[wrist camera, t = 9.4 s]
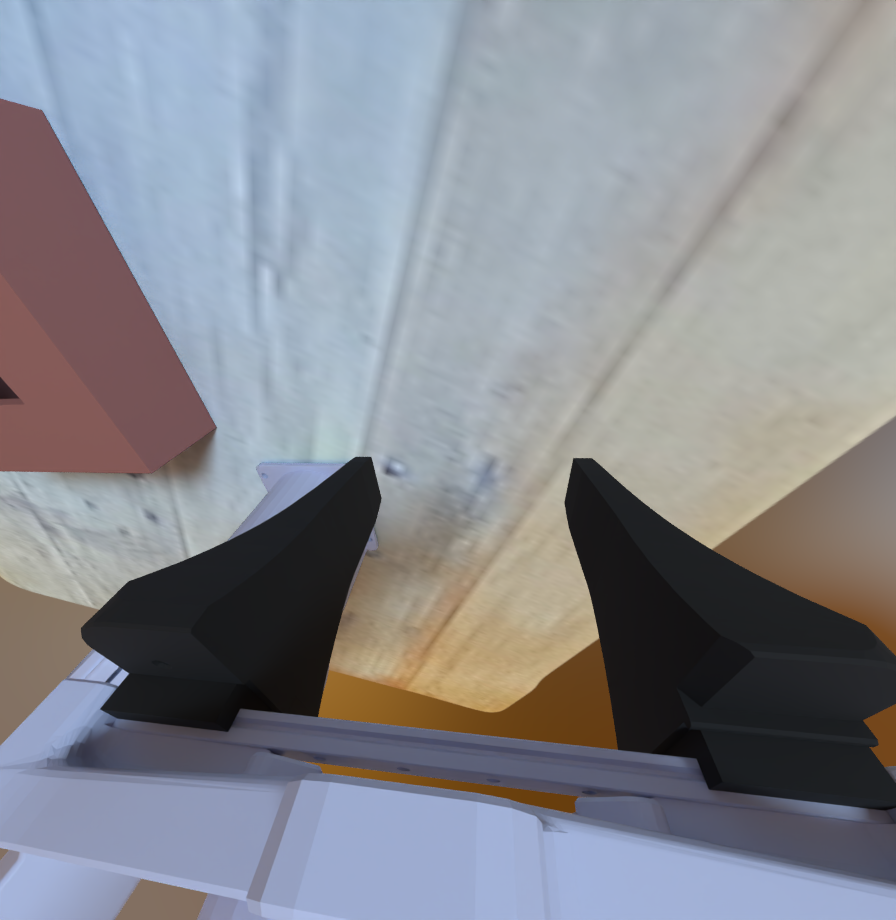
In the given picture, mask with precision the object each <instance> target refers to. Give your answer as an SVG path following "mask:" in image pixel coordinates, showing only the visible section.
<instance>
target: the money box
mask: <svg viewBox="0 0 896 920" xmlns="http://www.w3.org/2000/svg"><path fill="white" fill-rule="evenodd" d="M215 428H216V426H215V424H214V422H213V420H212V418H211V417H210V415H209V413H208V411H207V409H206V408H205V406H204V404H203V402H202V400H201V398H200V397H199V395H198V393H197V391H196V389H195V388H194V386H193V384H192V382H191V380H190V378H189V377H188V375H187V373H186V371H185V369H184V368H183V366H182V364H181V362H180V360H179V358H178V357H177V355H176V353H175V351H174V349H173V348H172V346H171V344H170V342H169V340H168V338H167V337H166V335H165V333H164V331H163V329H162V328H161V326H160V324H159V322H158V320H157V318H156V317H155V315H154V313H153V311H152V309H151V308H150V306H149V304H148V302H147V300H146V298H145V297H144V295H143V293H142V291H141V289H140V288H139V286H138V284H137V282H136V280H135V278H134V277H133V275H132V273H131V271H130V269H129V268H128V266H127V264H126V262H125V260H124V258H123V257H122V255H121V253H120V251H119V249H118V248H117V246H116V244H115V242H114V240H113V238H112V237H111V235H110V233H109V231H108V229H107V228H106V226H105V224H104V222H103V220H102V219H101V217H100V215H99V213H98V211H97V209H96V208H95V206H94V204H93V202H92V200H91V199H90V197H89V195H88V193H87V191H86V189H85V188H84V186H83V184H82V182H81V180H80V179H79V177H78V175H77V173H76V171H75V169H74V168H73V166H72V164H71V162H70V160H69V159H68V157H67V155H66V153H65V151H64V149H63V148H62V146H61V144H60V142H59V140H58V139H57V137H56V135H55V133H54V131H53V129H52V128H51V126H50V124H49V122H48V120H47V119H46V117H45V115H44V113H43V111H42V110H39V109H35V108H32V107H28V106H25V105H21V104H18V103H14V102H10V101H7V100H3V99H0V471H22V472H94V473H153V472H154V471H156V470H157V469H159V468H160V467H161V466H163V465H164V464H166V463H167V462H168V461H170V460H171V459H173V458H174V457H175V456H177V455H178V454H180V453H181V452H183V451H184V450H185V449H187V448H188V447H190V446H191V445H192V444H194V443H195V442H197V441H198V440H199V439H201V438H202V437H204V436H205V435H206V434H208V433H209V432H211V431H212V430H214V429H215Z"/></svg>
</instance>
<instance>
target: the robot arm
mask: <svg viewBox="0 0 896 920" xmlns="http://www.w3.org/2000/svg"><path fill="white" fill-rule="evenodd" d="M256 470H257V472H258V474H259V476H260V478H261V480H262V482H263V484H264V486H265V488H266V489H267V491H268V494H267V495H266V496H265V497H264V498H263V499H262V501H261V502H260V503H259V504H258V505H257V506H256V508H255V509H254V510H253V511H252V512H251V514H250V515H249V516H248V517H247V518H246V519H245V521H244V522H243V523H242V524H241V525H240V526H239V528H238V529H237V530H236V531H235V532H234V533H233V535H232V536H231V537H230V538H229V539H228V541H227V542H225V543H223V544H220V545H218V546H216V547H214V548H212V549H210V550H207V551H205V552H203V553H201V554H198V555H196V556H194V557H191V558H189V559H187V560H184V561H182V562H179V563H177V564H174V565H172V566H169V567H166V568H164V569H161V570H158V571H156V572H153V573H150V574H148V575H145V576H142V577H140V578H137V579H134V580H131V581H129V582H128V583H126V584H125V585H124V586H123V587H122V588H121V589H120V590H119V591H118V592H117V593H116V594H115V595H114V596H113V597H112V598H111V599H110V600H109V601H108V602H107V603H106V604H105V605H104V606H103V607H102V608H101V609H100V610H99V611H98V612H97V613H96V614H95V615H94V616H93V617H92V618H91V619H90V620H89V621H88V622H86V623H85V624H84V626H83V627H82V628H81V634H82V638H83V640H84V641H85V642H86V644H87V645H89V646H90V647H91V648H92V649H93V650H92V651H91V652H90V653H89V654H88V655H87V656H86V657H85V658H84V659H83V660H82V662H80V663H79V665H78V666H77V667H76V668H75V669H74V670H73V671H72V672H71V673H70V674H69V675H68V676H67V678H66V679H65V680H63V681H62V682H61V683H60V684H59V685H58V686H57V687H56V688H55V689H54V690H53V691H52V692H51V693H50V694H49V695H48V697H47V698H46V699H45V700H44V701H43V702H42V703H41V704H40V705H39V706H38V707H37V708H36V709H35V710H34V711H33V712H32V713H31V714H30V715H29V716H28V717H27V719H26V720H25V721H24V722H23V723H22V724H21V725H20V726H19V727H18V728H17V729H16V730H15V731H14V732H13V733H12V734H11V735H10V736H9V737H8V738H7V739H6V741H5V742H4V743H3V744H2V745H1V746H0V848H4V849H9V851H8V852H7V853H6V854H5V856H4V857H3V858H2V859H1V860H0V920H115V918H116V917H117V915H118V914H119V912H120V911H121V909H122V907H123V906H124V905H125V903H126V901H127V900H128V898H129V897H130V895H131V894H132V892H133V891H134V889H135V888H136V886H137V884H138V883H139V882H140V880H141V878H142V879H146V880H151V881H156V882H160V883H165V884H169V885H174V886H179V887H183V888H188V889H192V890H197V891H202V892H206V893H208V895H207V897H206V900H205V902H204V904H203V907H202V909H201V911H200V914H199V917H198V919H197V920H896V766H891V767H885V768H884V766H883V765H882V764H881V762H880V761H879V760H878V758H877V757H876V756H875V754H874V753H873V752H872V750H871V749H870V748H869V747H875V746H878V740H877V738H876V737H875V736H874V735H873V733H872V732H871V730H870V729H869V728H868V727H867V725H866V724H865V723H864V722H863V720H864V719H866V718H868V717H870V716H872V715H874V714H876V713H878V712H880V711H882V710H884V709H886V708H888V707H890V706H892V705H894V704H896V656H895V655H894V654H893V653H892V652H891V651H890V650H889V649H888V648H887V647H886V646H885V644H884V643H882V641H881V640H880V639H879V638H878V637H877V636H876V635H875V634H874V633H873V632H872V631H871V630H870V629H869V628H868V627H867V626H866V625H864V624H862V623H860V622H857V621H855V620H853V619H851V618H848V617H846V616H844V615H842V614H839V613H837V612H835V611H832V610H830V609H828V608H826V607H823V606H821V605H819V604H817V603H814V602H812V601H810V600H808V599H805V598H803V597H801V596H799V595H797V594H794V593H792V592H790V591H788V590H786V589H784V588H782V587H780V586H778V585H776V584H774V583H772V582H770V581H768V580H766V579H764V578H762V577H760V576H758V575H756V574H754V573H752V572H751V571H749V570H747V569H745V568H743V567H741V566H739V565H738V564H736V563H734V562H732V561H730V560H729V559H727V558H725V557H723V556H722V555H720V554H718V553H716V552H714V551H713V550H711V549H710V548H708V547H706V546H705V545H703V544H701V543H700V542H698V541H697V540H695V539H693V538H692V537H690V536H689V535H687V534H686V533H684V532H683V531H681V530H680V529H678V528H677V527H675V526H674V525H672V524H671V523H670V522H668V521H667V520H665V519H664V518H663V517H661V516H660V515H659V514H657V513H656V512H655V511H653V510H652V509H651V508H649V507H648V506H647V505H646V504H644V503H643V502H642V501H641V500H639V499H638V498H637V497H636V496H634V495H633V494H632V493H631V492H630V491H629V490H627V489H626V488H625V487H624V486H623V485H622V484H620V483H619V482H618V481H617V480H616V479H615V478H614V477H613V476H611V475H610V474H609V473H608V472H607V471H606V470H605V469H604V468H603V467H601V466H600V465H599V464H598V463H597V462H596V461H595V460H593V459H592V458H573V463H572V468H571V473H570V478H569V483H568V488H567V493H566V498H565V508H566V514H567V520H568V525H569V529H570V533H571V536H572V539H573V542H574V545H575V548H576V551H577V555H578V558H579V561H580V564H581V567H582V570H583V573H584V576H585V579H586V582H587V585H588V589H589V592H590V596H591V600H592V604H593V609H594V613H595V618H596V623H597V628H598V633H599V638H600V643H601V647H602V653H603V658H604V663H605V669H606V675H607V681H608V687H609V693H610V698H611V705H612V712H613V718H614V725H615V732H616V737H617V745H618V750H613V749H603V748H594V747H585V746H576V745H567V744H557V743H549V742H540V741H530V740H521V739H512V738H502V737H493V736H485V735H476V734H466V733H457V732H448V731H439V730H430V729H420V728H412V727H403V726H393V725H384V724H375V723H366V722H357V721H348V720H339V719H330V718H320V717H318V714H319V708H320V704H321V699H322V694H323V691H324V688H325V684H326V681H327V676H328V671H329V663H330V658H331V654H332V650H333V646H334V642H335V638H336V634H337V630H338V626H339V623H340V619H341V615H342V612H343V610H344V608H345V606H346V603H347V601H348V598H349V595H350V593H351V590H352V588H353V585H354V582H355V580H356V577H357V575H358V572H359V569H360V567H361V564H362V561H363V559H364V556H365V554H366V551H367V550H377V548H378V541H377V537H376V534H375V530H374V525H375V522H376V518H377V515H378V511H379V507H380V503H381V494H380V490H379V486H378V482H377V478H376V474H375V470H374V466H373V462H372V458H371V457H355V458H353V459H352V460H350V461H349V462H348V463H346V464H322V463H260V464H259V465H258V466H257V467H256ZM266 474H267V475H266ZM302 761H307V762H315V763H323V764H331V765H338V766H347V767H354V768H362V769H370V770H377V771H385V772H393V773H401V774H409V775H416V776H425V777H432V778H441V779H448V780H456V781H464V782H471V783H479V784H487V785H495V786H503V787H511V788H519V789H526V790H534V791H542V792H550V793H558V794H566V795H573V796H581V797H583V798H577V800H576V802H575V807H576V812H575V813H572V814H570V813H565V812H560V811H556V810H551V809H546V808H541V807H537V806H532V805H527V804H522V803H518V802H515V801H512V800H509V799H505V798H499V797H494V796H489V795H484V794H479V793H471V792H464V791H456V790H448V789H441V788H433V787H426V786H418V785H410V784H403V783H395V782H387V781H380V780H373V779H365V778H357V777H349V776H342V775H334V774H323V773H322V771H321V768H320V767H319V766H317V765H314V764H310V763H306V762H302Z"/></svg>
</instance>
